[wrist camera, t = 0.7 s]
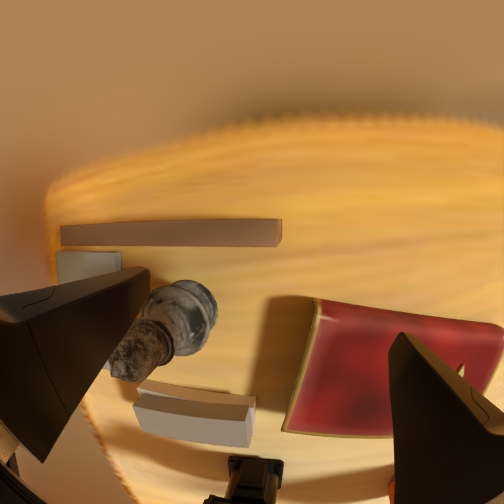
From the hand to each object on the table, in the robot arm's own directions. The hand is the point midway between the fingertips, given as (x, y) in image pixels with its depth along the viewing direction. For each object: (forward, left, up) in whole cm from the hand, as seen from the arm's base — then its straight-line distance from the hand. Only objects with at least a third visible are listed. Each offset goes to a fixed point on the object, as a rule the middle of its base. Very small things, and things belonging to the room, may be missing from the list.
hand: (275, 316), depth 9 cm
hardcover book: (-11, -12, -14) cm, 21 cm away
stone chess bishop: (-5, +8, -13) cm, 17 cm away
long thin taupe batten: (+2, +8, -13) cm, 16 cm away
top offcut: (-15, +8, -11) cm, 21 cm away
